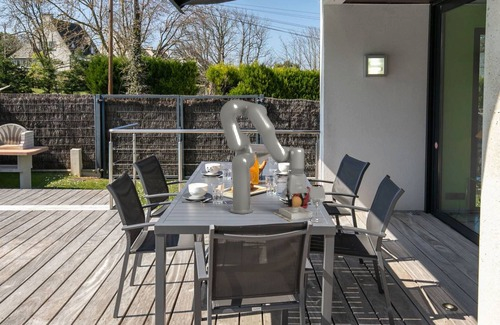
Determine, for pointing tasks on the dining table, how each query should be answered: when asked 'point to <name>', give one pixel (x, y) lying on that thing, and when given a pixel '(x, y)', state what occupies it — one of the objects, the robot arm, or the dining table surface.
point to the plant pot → (304, 199)
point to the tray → (295, 213)
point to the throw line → (283, 217)
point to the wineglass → (317, 198)
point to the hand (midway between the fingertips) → (295, 205)
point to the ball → (296, 201)
